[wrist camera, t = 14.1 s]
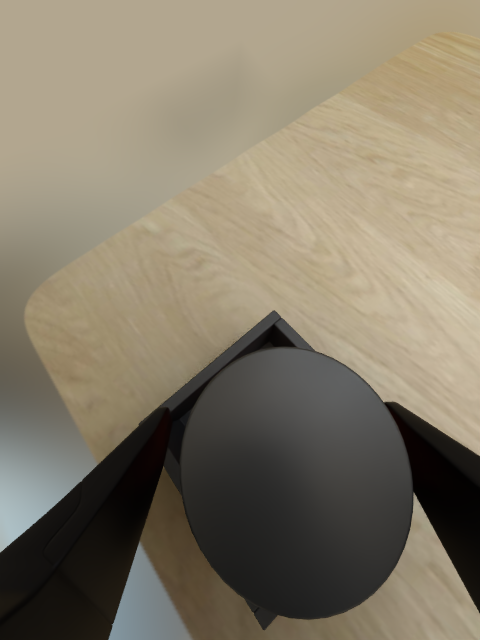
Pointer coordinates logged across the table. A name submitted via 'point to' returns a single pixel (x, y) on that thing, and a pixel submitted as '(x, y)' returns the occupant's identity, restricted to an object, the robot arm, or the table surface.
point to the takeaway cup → (296, 483)
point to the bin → (182, 402)
